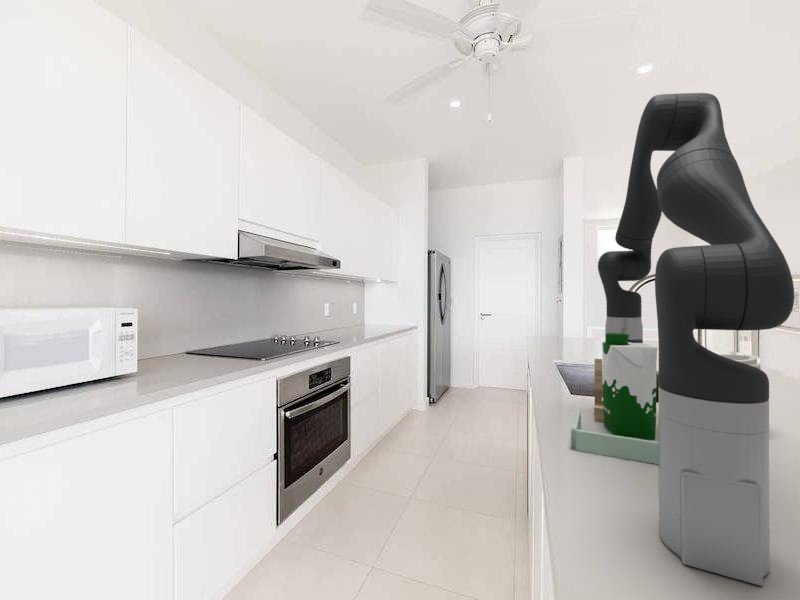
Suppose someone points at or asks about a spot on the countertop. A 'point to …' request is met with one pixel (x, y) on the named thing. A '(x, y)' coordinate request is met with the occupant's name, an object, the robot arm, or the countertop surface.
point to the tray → (612, 444)
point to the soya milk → (629, 387)
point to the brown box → (598, 392)
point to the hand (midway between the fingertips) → (623, 409)
